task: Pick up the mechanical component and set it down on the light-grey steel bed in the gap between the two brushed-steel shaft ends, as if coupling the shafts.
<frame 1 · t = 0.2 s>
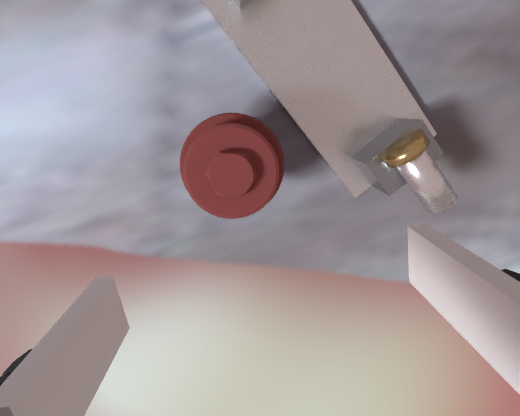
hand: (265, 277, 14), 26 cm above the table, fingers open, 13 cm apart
shaft bed: (322, 68, 37), on the table
mechanical component: (234, 155, 39), on the table
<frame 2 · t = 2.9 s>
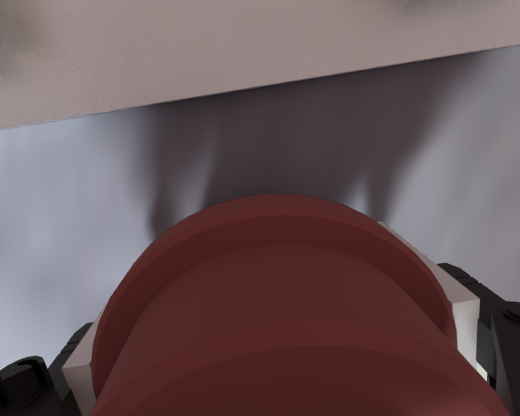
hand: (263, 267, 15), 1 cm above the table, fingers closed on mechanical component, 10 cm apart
mechanical component: (261, 254, 17), on the table, touching gripper
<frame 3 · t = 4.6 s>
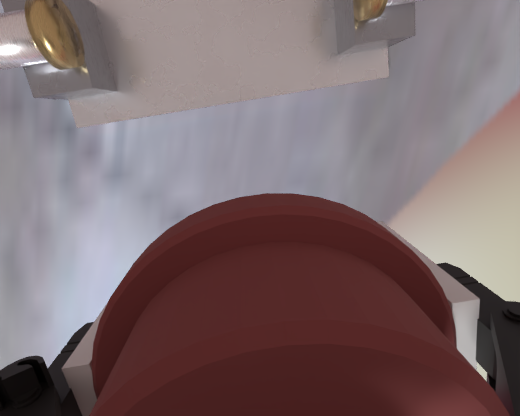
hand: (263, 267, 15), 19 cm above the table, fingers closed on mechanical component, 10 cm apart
shaft bed: (220, 33, 29), on the table
mechanical component: (261, 254, 17), point 17 cm above the table, touching gripper
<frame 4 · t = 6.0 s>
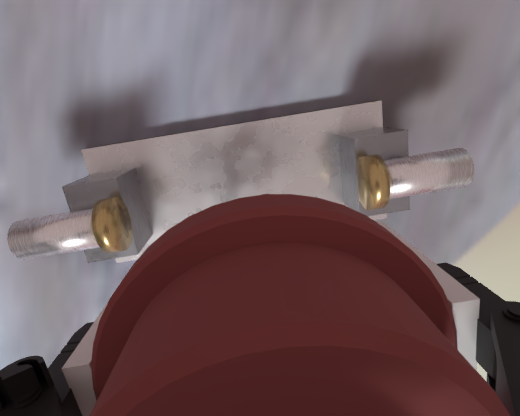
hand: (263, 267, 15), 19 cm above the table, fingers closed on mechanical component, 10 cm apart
shaft bed: (242, 183, 34), on the table
mechanical component: (261, 254, 17), point 18 cm above the table, touching gripper
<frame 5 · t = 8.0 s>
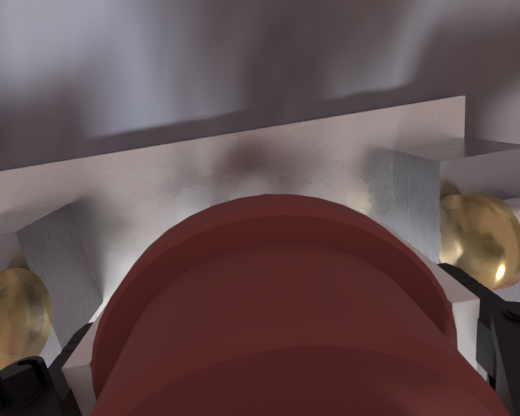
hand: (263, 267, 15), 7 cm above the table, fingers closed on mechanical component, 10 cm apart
shaft bed: (241, 224, 22), on the table
mechanical component: (261, 254, 17), point 5 cm above the table, touching gripper
when the fingers open (4 cm above the table, at t = 9.2 s): mechanical component drops 2 cm, resting on shaft bed.
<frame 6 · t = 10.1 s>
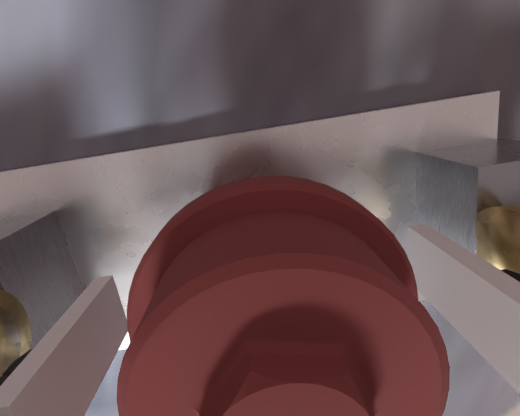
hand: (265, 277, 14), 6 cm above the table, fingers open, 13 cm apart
shaft bed: (245, 233, 20), on the table
mechanical component: (262, 236, 19), point 1 cm above the table, touching shaft bed
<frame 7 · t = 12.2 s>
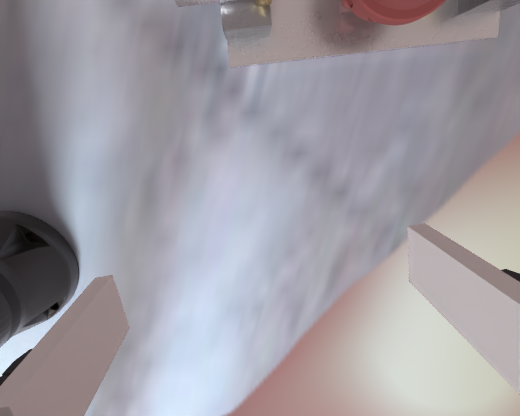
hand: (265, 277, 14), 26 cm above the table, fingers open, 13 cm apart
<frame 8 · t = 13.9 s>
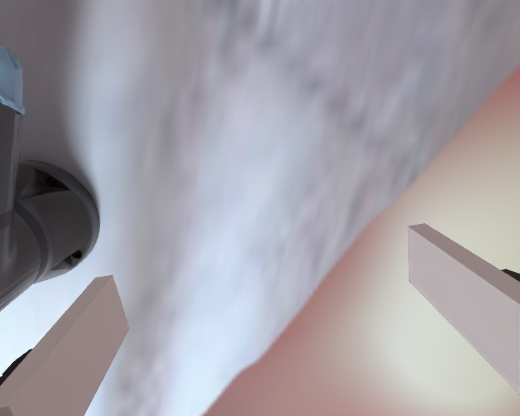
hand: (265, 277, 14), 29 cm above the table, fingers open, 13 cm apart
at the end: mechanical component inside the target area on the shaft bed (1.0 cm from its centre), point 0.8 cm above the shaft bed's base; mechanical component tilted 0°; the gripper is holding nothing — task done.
